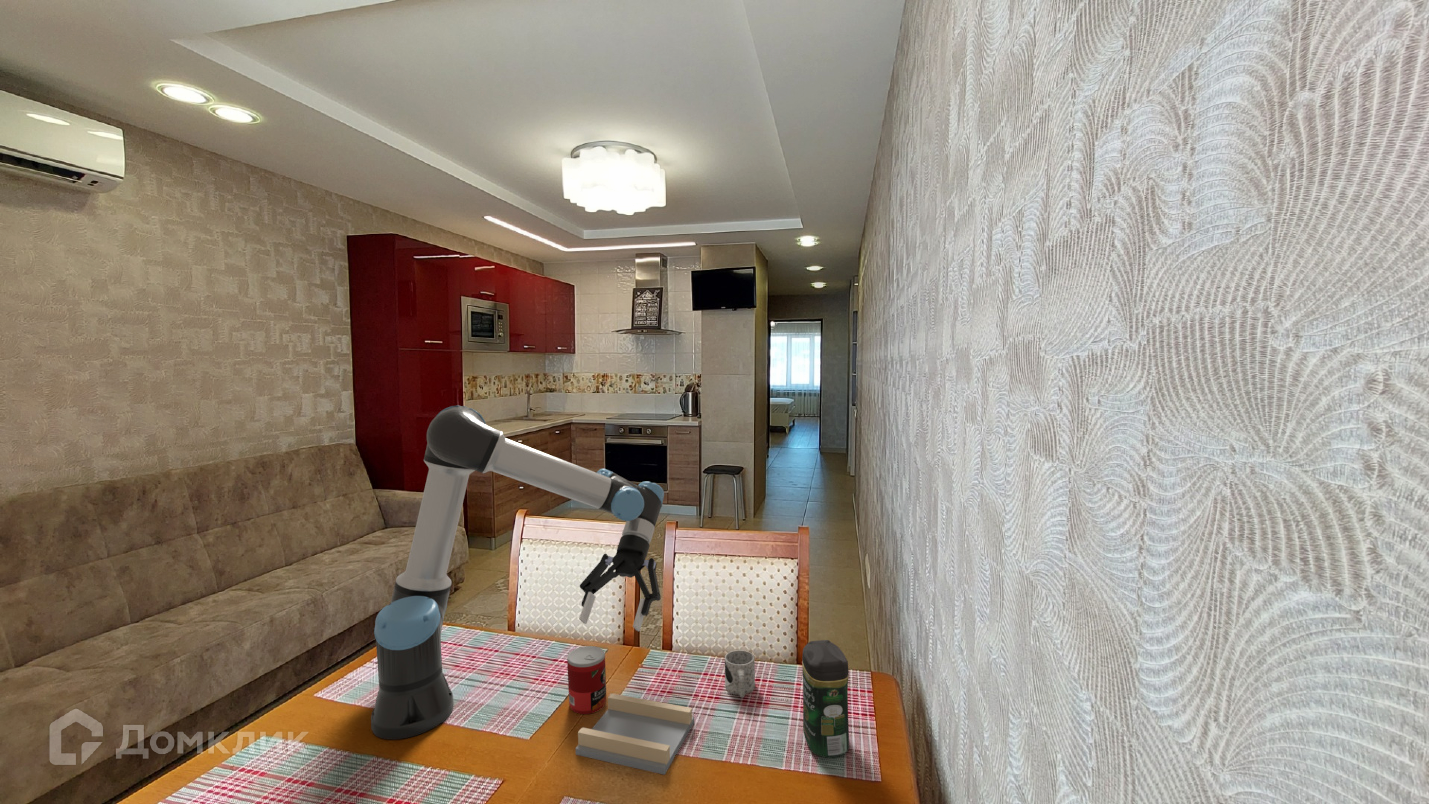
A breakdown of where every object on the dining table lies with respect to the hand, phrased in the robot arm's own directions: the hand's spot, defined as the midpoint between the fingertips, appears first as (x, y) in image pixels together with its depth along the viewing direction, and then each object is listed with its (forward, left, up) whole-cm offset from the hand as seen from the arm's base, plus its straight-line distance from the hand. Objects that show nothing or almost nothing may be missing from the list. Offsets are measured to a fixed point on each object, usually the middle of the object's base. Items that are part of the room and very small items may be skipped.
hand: (609, 625), depth 129 cm
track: (+14, -16, -13) cm, 25 cm away
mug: (+29, +5, -13) cm, 33 cm away
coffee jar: (+49, -7, -13) cm, 52 cm away
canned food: (-1, -9, -13) cm, 16 cm away
